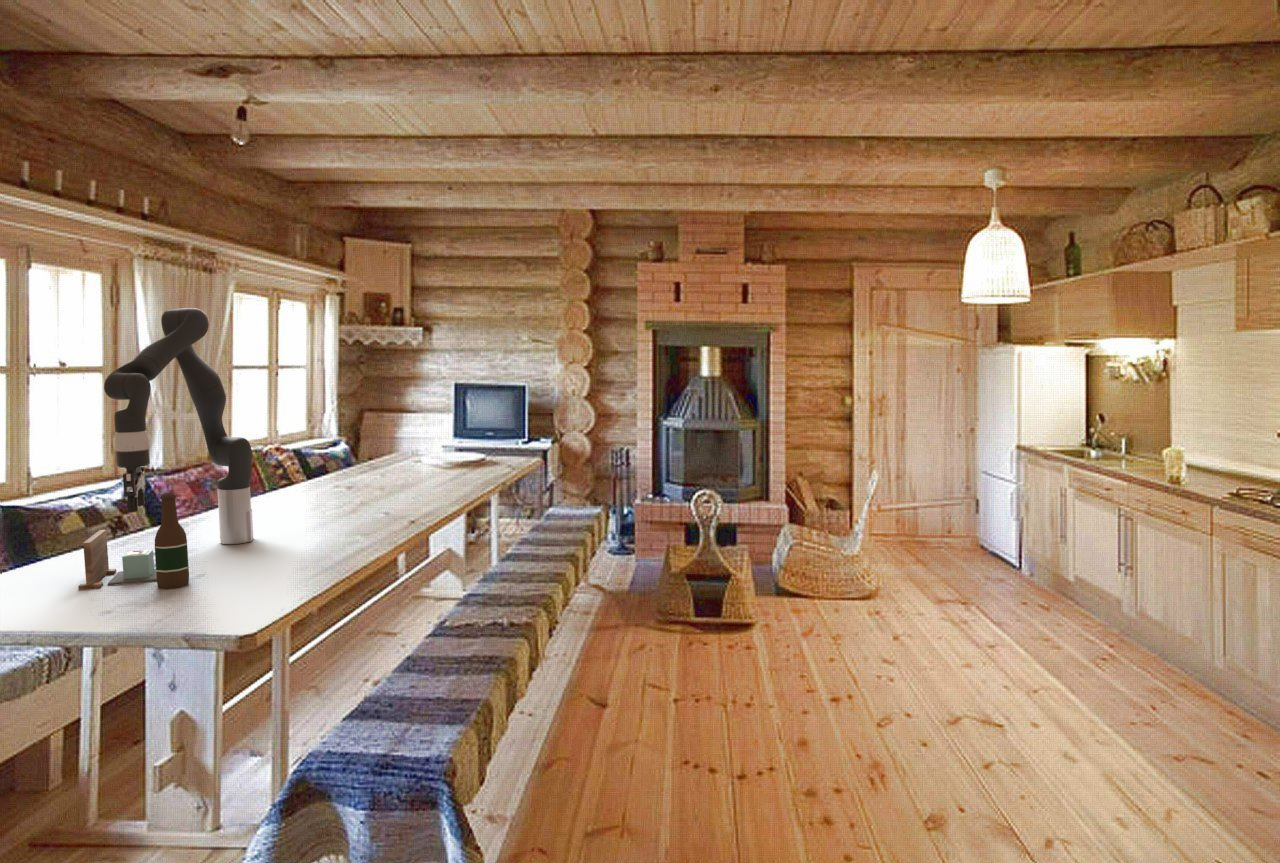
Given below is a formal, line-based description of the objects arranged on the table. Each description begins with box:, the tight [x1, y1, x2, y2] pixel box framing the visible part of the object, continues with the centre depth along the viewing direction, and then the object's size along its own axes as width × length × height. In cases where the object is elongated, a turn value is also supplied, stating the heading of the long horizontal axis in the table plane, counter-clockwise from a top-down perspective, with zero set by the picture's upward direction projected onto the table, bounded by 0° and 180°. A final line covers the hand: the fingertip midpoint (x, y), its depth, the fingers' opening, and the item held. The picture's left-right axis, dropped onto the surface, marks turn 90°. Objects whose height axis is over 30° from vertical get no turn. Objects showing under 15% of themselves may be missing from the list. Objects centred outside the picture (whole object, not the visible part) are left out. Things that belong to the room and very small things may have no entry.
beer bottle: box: [154, 492, 190, 590], centre depth 215 cm, size 8×8×24 cm
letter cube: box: [121, 549, 155, 579], centre depth 224 cm, size 6×6×6 cm
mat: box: [107, 568, 157, 586], centre depth 224 cm, size 12×12×1 cm
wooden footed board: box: [77, 529, 117, 591], centre depth 220 cm, size 5×16×12 cm, turn 20°
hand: (136, 508), depth 223 cm, fingers open, 8 cm apart
